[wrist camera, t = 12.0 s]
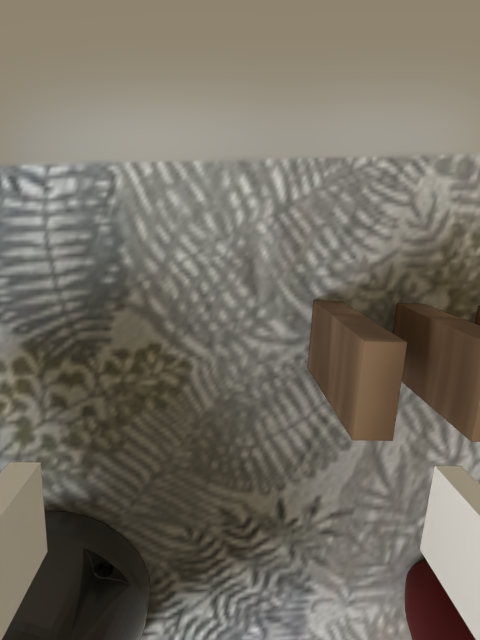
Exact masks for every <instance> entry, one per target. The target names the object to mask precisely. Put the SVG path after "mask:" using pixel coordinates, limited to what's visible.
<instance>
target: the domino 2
mask: <svg viewBox="0 0 480 640" xmlns="http://www.w3.org/2000/svg"><path fill="white" fill-rule="evenodd" d="M393 334H394V335H396V336H398V337H399V338H401V339H402V340H404V341H405V342H407V346H406V353H405V360H404V367H403V373H402V380H401V381H402V382H403V383H404V384H405V385H406V386H407V387H409V388H410V389H411V390H412V391H413V392H414V393H416V394H417V395H418V396H419V397H420V398H421V399H423V400H424V401H425V402H426V403H427V404H428V405H429V406H431V407H432V408H433V409H434V410H435V411H436V412H438V413H439V414H440V415H441V416H442V417H443V418H445V419H446V420H447V421H448V422H449V423H450V424H452V425H453V426H454V427H455V428H456V429H457V430H459V431H460V432H461V433H462V434H463V435H464V436H466V437H467V438H468V439H469V440H470V441H471V442H480V326H479V325H477V324H474V323H472V322H469V321H466V320H464V319H461V318H459V317H456V316H454V315H451V314H449V313H446V312H443V311H441V310H438V309H436V308H433V307H431V306H428V305H425V304H408V303H397V307H396V314H395V321H394V328H393Z"/></svg>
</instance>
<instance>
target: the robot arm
mask: <svg viewBox="0 0 480 640" xmlns="http://www.w3.org/2000/svg"><path fill="white" fill-rule="evenodd" d="M420 551H421V552H422V554H423V555H424V557H425V559H426V560H427V562H428V563H429V565H430V567H431V568H432V570H433V571H434V573H435V575H436V576H437V578H438V580H439V581H440V583H441V584H442V586H443V588H444V589H445V591H446V592H447V594H448V596H449V597H450V599H451V600H452V602H453V604H454V605H455V607H456V609H457V610H458V612H459V613H460V615H461V617H462V618H463V620H464V621H465V623H466V625H467V626H468V628H469V629H470V631H471V633H472V634H473V636H474V638H475V639H476V640H480V484H479V483H478V482H477V481H476V480H475V479H474V478H473V477H472V476H471V475H470V474H469V473H468V472H467V471H466V470H465V469H464V468H463V467H462V466H435V468H434V473H433V479H432V485H431V490H430V496H429V501H428V507H427V512H426V518H425V524H424V529H423V535H422V540H421V546H420ZM149 600H150V582H149V577H148V573H147V570H146V567H145V565H144V563H143V561H142V559H141V557H140V556H139V554H138V553H137V551H136V550H135V549H134V547H133V546H132V545H131V544H130V543H129V542H128V541H127V540H126V539H125V538H124V537H123V536H121V535H120V534H119V533H118V532H116V531H115V530H113V529H112V528H110V527H108V526H107V525H105V524H103V523H101V522H99V521H96V520H94V519H91V518H88V517H85V516H82V515H78V514H74V513H68V512H60V511H44V501H43V488H42V476H41V463H38V462H10V463H9V464H8V465H7V466H6V467H5V468H4V470H3V471H2V472H1V473H0V640H140V639H141V636H142V633H143V630H144V627H145V622H146V617H147V611H148V606H149Z"/></svg>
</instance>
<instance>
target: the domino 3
mask: <svg viewBox="0 0 480 640" xmlns="http://www.w3.org/2000/svg"><path fill="white" fill-rule="evenodd" d="M475 324H477V325H479V326H480V306H478V310H477V316H476V321H475Z"/></svg>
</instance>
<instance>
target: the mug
mask: <svg viewBox="0 0 480 640" xmlns="http://www.w3.org/2000/svg"><path fill="white" fill-rule="evenodd" d="M405 612H406V618H407V622H408V626H409V629H410V633H411V636H412V640H476V639H475V638H474V636H473V634H472V633H471V631H470V629H469V628H468V626H467V625H466V623H465V621H464V620H463V618H462V617H461V615H460V613H459V612H458V610H457V609H456V607H455V605H454V604H453V602H452V600H451V599H450V597H449V596H448V594H447V592H446V591H445V589H444V588H443V586H442V584H441V583H440V581H439V580H438V578H437V576H436V575H435V573H434V571H433V570H432V568H431V567H430V565H429V563H428V562H427V560H424V561H421V562H419V563H417V564H416V565H414V566H413V567H412V568H411V570H410V571H409V572H408V575H407V578H406V587H405Z"/></svg>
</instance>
